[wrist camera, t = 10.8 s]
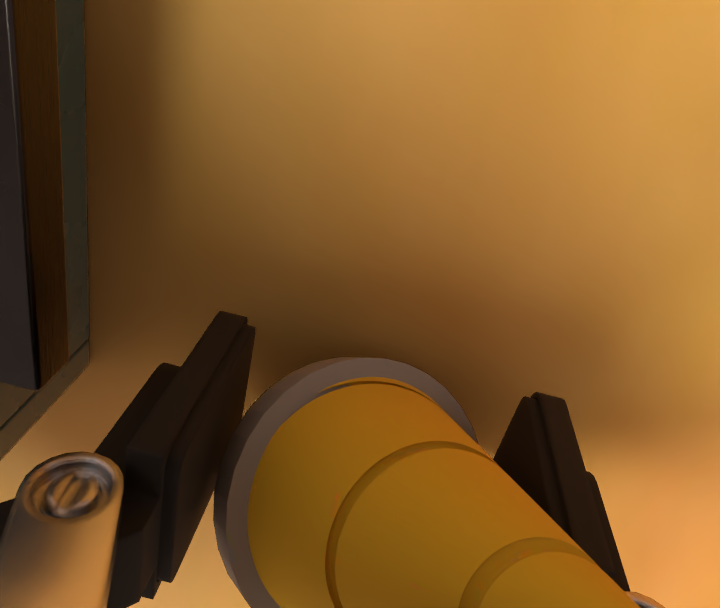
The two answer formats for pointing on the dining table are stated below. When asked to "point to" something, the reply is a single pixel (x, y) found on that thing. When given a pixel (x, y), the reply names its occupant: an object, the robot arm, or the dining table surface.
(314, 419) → the yellow stepped cone
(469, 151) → the dining table surface
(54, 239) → the tray
